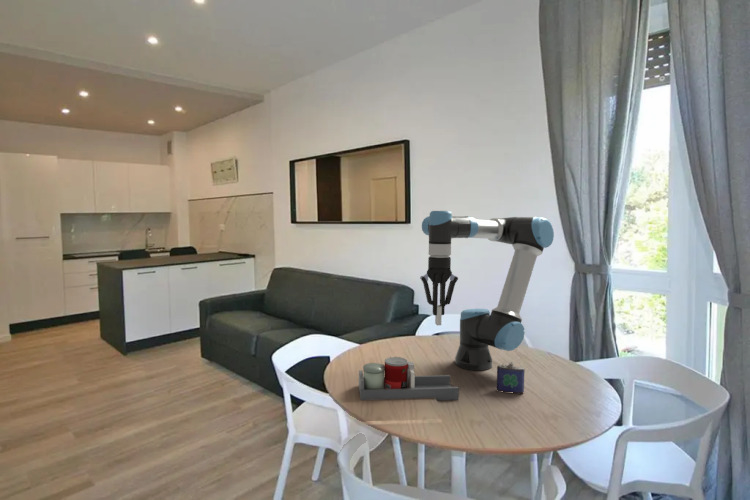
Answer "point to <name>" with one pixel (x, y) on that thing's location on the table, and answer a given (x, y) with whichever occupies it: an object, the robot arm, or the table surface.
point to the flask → (510, 378)
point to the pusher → (411, 375)
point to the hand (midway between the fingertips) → (438, 324)
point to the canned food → (396, 373)
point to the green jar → (373, 376)
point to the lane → (414, 389)
